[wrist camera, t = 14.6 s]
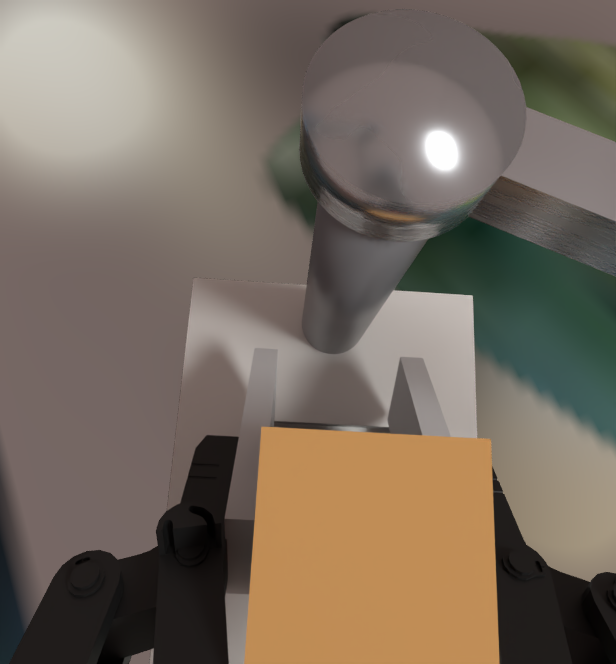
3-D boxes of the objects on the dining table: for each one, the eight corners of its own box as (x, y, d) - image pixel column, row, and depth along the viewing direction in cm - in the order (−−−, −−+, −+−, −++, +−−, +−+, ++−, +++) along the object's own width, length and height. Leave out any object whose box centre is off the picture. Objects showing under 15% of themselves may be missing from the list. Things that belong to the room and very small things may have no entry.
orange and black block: (274, 440, 19) (261, 426, 8) (375, 445, 19) (490, 438, 8) (267, 550, 18) (242, 693, 7) (373, 555, 18) (500, 703, 8)
